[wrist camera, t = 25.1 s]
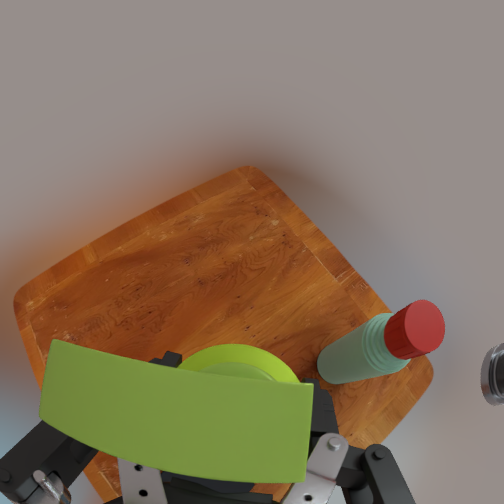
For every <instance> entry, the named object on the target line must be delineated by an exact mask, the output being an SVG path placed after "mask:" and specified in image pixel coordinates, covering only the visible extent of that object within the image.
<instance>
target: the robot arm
mask: <svg viewBox="0 0 504 504" xmlns="http://www.w3.org/2000/svg"><path fill="white" fill-rule="evenodd" d="M148 363H153V364H158V365H163V366H168V367H174V368H177V367H178V366H179V365H180V364H181V363H182V355H181V354H177V353H174V352H170V351H167V352H166V353H165V355H164V357H163V359H158V358H154V359H152V360H151V361H149V362H148ZM492 377H493V385H494V389H495V391H496V393H497V394H498V395H499V396H500V397H503V398H504V350H502V351H500V352H499V353H498V355H497V357H496V359H495V362H494V365H493V374H492ZM301 383H313V384H314V390H313V405H312V417H311V429H310V439H309V449H308V458H307V467H306V475H305V481H304V482H301V483H292V484H291V486H290V487H289V489H288V490H287V492H286V494H285V495H284V497H283V498H282V499H281V501H280V502H276V501H273V500H272V499H273V494H262V493H253V492H238V493H220V492H217V491H215V490H212V489H210V488H208V487H205V486H203V485H201V484H199V483H196V482H192V481H188V480H184V479H180V478H176V477H172V479H171V482H162V478H161V474H160V470H158V469H154V468H150V467H147V466H143V465H140V464H136V463H133V462H130V461H127V460H124V459H121V458H118V457H117V459H118V468H119V476H120V484H121V491H122V496H120V497H118V498H116V499H113V500H111V501H109V502H106V503H104V504H327V502H328V500H329V498H330V496H331V494H332V492H333V490H334V487H335V485H338V486H341V488H342V491H343V495H344V498H345V501H346V504H416V503H415V501H414V499H413V497H412V495H411V493H410V490H409V488H408V486H407V484H406V482H405V480H404V478H403V476H402V474H401V472H400V470H399V467H398V465H397V463H396V461H395V459H394V457H393V455H392V453H391V451H390V450H389V449H388V448H387V447H385V446H383V445H380V444H373V445H370V446H368V447H367V448H366V450H364V449H360V448H357V447H353V446H350V445H349V444H348V441H347V440H346V439H345V438H344V437H343V436H341V435H339V431H338V426H337V421H336V416H335V412H334V406H333V401H332V397H331V395H330V394H329V393H328V391H327V390H323V389H320V385H319V380H318V379H312V378H303V379H302V381H301ZM98 451H99V450H97V449H95V448H93V447H90V446H88V445H86V444H84V443H82V442H80V441H78V440H76V439H74V438H72V437H70V436H68V435H66V434H64V433H63V432H61V431H59V430H57V429H56V428H54V427H52V426H51V425H49V424H47V423H46V422H44V421H43V420H42V421H41V422H40V423H39V424H38V425H37V426H36V427H34V428H33V429H32V430H31V431H30V432H29V433H28V434H27V435H26V436H25V437H24V438H23V439H21V440H20V441H19V442H18V443H17V444H16V445H15V446H14V447H13V448H12V449H11V450H10V451H9V452H8V453H6V454H5V456H3V457H2V458H1V459H0V492H2V493H3V494H4V495H5V496H6V497H7V498H8V499H9V500H10V501H11V502H12V503H14V504H70V503H71V495H70V492H69V491H68V488H69V486H70V485H71V484H72V483H73V482H74V480H75V479H76V478H77V477H78V476H79V474H80V473H81V472H82V471H83V470H84V468H85V467H86V466H87V465H88V463H89V462H90V461H91V460H92V459H93V457H94V456H95V455H96V454H97V453H98Z"/></svg>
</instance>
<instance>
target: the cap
mask: <svg viewBox="0 0 504 504" xmlns="http://www.w3.org/2000/svg"><path fill="white" fill-rule="evenodd" d="M444 333H445V324H444V320H443V316H442V314H441V312H440V310H439V309H438V308H437V307H436V306H435V305H434V304H433V303H431V302H429V301H427V300H418V301H415V302H413V303H411V304H409V305H408V306H406V307H405V308H403V309H402V310H400V311H398V312H397V313H396V314H394V315H393V316H391V317H390V319H389V320H388V321H387V323H386V325H385V329H384V341H385V345H386V347H387V349H388V351H389V352H390V353H391V354H392V355H393V356H394V357H396V358H398V359H402V360H408V359H411V358H415V357H418V356H421V355H424V354H427V353H430V352H431V351H433V350H435V349H436V348H438V347H439V345H440V344H441V342H442V341H443V338H444Z"/></svg>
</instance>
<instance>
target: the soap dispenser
mask: <svg viewBox="0 0 504 504" xmlns="http://www.w3.org/2000/svg"><path fill="white" fill-rule="evenodd" d="M313 390H314V384H313V383H300V382H299V380H298V378H297V377H296V375H295V374H294V373H293V371H292V370H291V369H290V368H289V367H288V366H287V365H286V364H285V363H284V362H283V361H281V360H280V359H279V358H277V357H276V356H274V355H272V354H271V353H269V352H267V351H264V350H262V349H259V348H256V347H253V346H249V345H242V344H223V345H217V346H213V347H209V348H206V349H203V350H201V351H199V352H197V353H195V354H193V355H192V356H190V357H189V358H187V359H186V360H185V361H183V362H182V363H181V364H180V365H179V366H178V367H177V368H174V367H168V366H163V365H158V364H153V363H148V362H144V361H139V360H135V359H130V358H126V357H122V356H117V355H113V354H109V353H105V352H101V351H97V350H93V349H89V348H85V347H82V346H78V345H74V344H71V343H67V342H64V341H60V340H57V339H53V340H52V342H51V345H50V350H49V354H48V359H47V363H46V368H45V374H44V379H43V385H42V392H41V400H40V408H39V417H40V418H41V419H42V420H43V421H44V422H46V423H47V424H49V425H51V426H52V427H54V428H56V429H57V430H59V431H61V432H63V433H64V434H66V435H68V436H70V437H72V438H74V439H76V440H78V441H80V442H82V443H84V444H86V445H88V446H90V447H93V448H95V449H97V450H100V451H102V452H104V453H107V454H110V455H112V456H115V457H118V458H121V459H124V460H127V461H130V462H133V463H136V464H140V465H143V466H147V467H150V468H154V469H158V470H163V471H167V472H172V473H176V474H182V475H187V476H193V477H199V478H206V479H214V480H223V481H234V482H250V483H301V482H304V481H305V475H306V467H307V458H308V449H309V439H310V429H311V417H312V405H313Z"/></svg>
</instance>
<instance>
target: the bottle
mask: <svg viewBox="0 0 504 504" xmlns="http://www.w3.org/2000/svg"><path fill="white" fill-rule="evenodd" d="M393 315H394V314H393V313H383V314H379V315H377V316H375V317H373V318H372V319H370V320H369V321H367V322H366V323H364V324H362V325H361V326H359V327H358V328H356V329H355V330H353V331H351V332H350V333H348V334H347V335H345V336H343V337H342V338H340V339H338V340H337V341H335V342H333V343H332V344H330V345H328V346H327V347H325V348H324V349H323V350H322V351H321V353H320V354H319V357H318V360H317V368H318V372H319V374H320V375H321V377H322V378H323V379H324V380H325V381H327V382H329V383H331V384H342V383H348V382H353V381H358V380H363V379H368V378H373V377H378V376H382V375H386V374H391V373H394V372H397V371H399V370H401V369H402V368H403V367H405V366H406V365H407V364H408V362H409V361H410V360H411V359H408V360H402V359H398V358H396V357H394V356H393V355H392V354H391V353H390V352H389V351H388V349H387V347H386V345H385V341H384V329H385V325H386V323H387V321H388V320H389V319H390V317H391V316H393Z"/></svg>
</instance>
